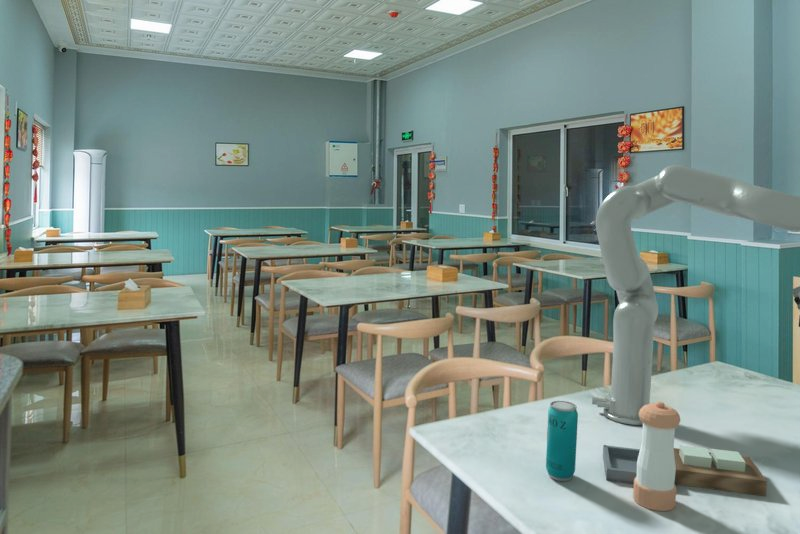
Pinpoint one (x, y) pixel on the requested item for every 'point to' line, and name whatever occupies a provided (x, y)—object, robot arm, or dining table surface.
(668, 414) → the salt shaker
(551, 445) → the beverage can
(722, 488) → the board
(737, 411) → the dining table surface
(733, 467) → the tile
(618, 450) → the tray
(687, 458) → the tile
